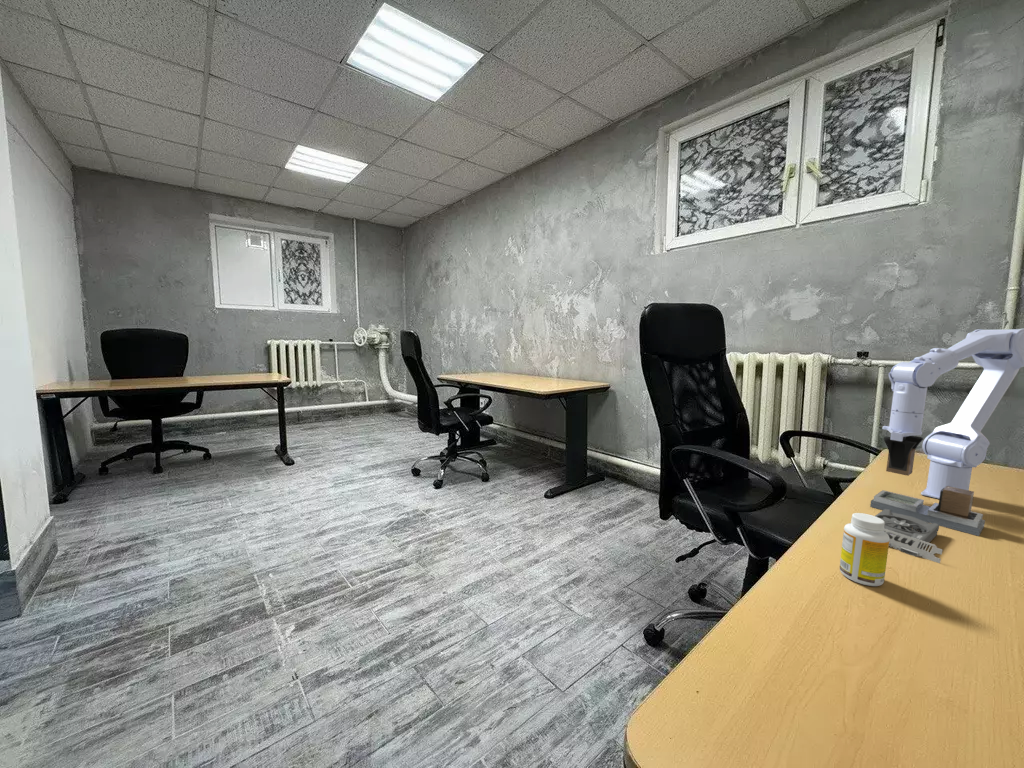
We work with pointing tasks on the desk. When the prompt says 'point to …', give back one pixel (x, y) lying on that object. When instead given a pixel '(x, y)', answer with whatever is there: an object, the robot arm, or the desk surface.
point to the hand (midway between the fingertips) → (899, 465)
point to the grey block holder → (936, 509)
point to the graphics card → (910, 534)
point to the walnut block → (907, 468)
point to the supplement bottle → (864, 550)
